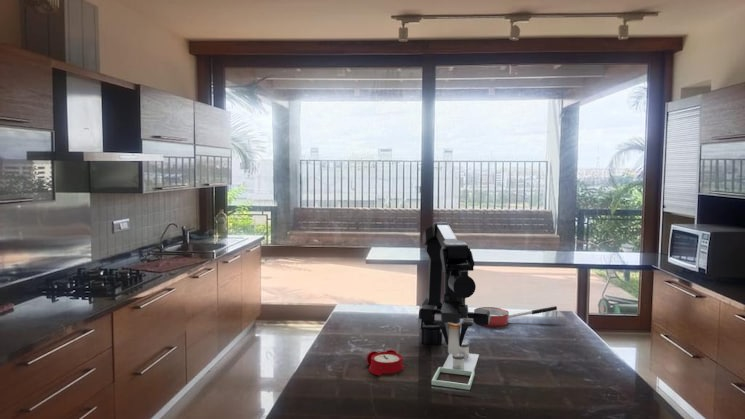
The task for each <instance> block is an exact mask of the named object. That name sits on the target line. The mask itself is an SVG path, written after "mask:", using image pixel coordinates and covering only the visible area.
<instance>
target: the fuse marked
mask: <svg viewBox="0 0 745 419" xmlns="http://www.w3.org/2000/svg"><path fill="white" fill-rule="evenodd" d="M461 324H462V323H460V322H459V323H457V324H454V323H449V322H448V345H447V353H448V354H459V353H460V346H459V341H460V334H461Z"/></svg>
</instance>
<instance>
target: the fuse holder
mask: <svg viewBox="0 0 745 419" xmlns="http://www.w3.org/2000/svg"><path fill="white" fill-rule="evenodd" d="M479 356H480V354H478V353H470V343H469V342H468V341H463V342H462V345H461V346H460V353H459V354H450V353H448V356H447V358H446V359H445V362H444V364H443V366H442V367H444V368H453V369H461V370H469V371H475V369H476V367H477V362H478V359H479Z"/></svg>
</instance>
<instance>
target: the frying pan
mask: <svg viewBox="0 0 745 419" xmlns="http://www.w3.org/2000/svg"><path fill="white" fill-rule="evenodd" d="M476 309H484V310H489V312H490V321H489V324H488V325H481V326H484V327H490V328H491V327H492V328H498V327H499V328H500V327H505V326H507V325H508V324H509V319H512V318H516V317H517V318H518V317H521V316H527V315H536V314H541V313H542V314H543V313H547V312H552V311H553V312H554V311H557V309H558V307H557V306H556V305H555V306H548V307H543V308H538V309H534V310H530V311H524V312H520V313H513V314H509V311H508V310H506V309H504V308H500V307H493V306H491V307H490V306H484V307H481V306H480V307H477V308H476ZM474 311H475V309H474V310H473V312H474Z"/></svg>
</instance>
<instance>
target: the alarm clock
mask: <svg viewBox="0 0 745 419" xmlns="http://www.w3.org/2000/svg"><path fill="white" fill-rule="evenodd" d="M366 362H367V364H368V365H369V367H368V371H369V373H371V374H373V375H376V376H379V377H381V375H383V374H394V373H398V372H401V371H403V370H404V369H405V365H403V364H404V363H403V356H402V355H401V354H400V353H398V352H396V351H395V350H394V349H387V350H386V351H379V352H377V351H374V350H372V351H370V352H369V353H368V354H367V356H366Z"/></svg>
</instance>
